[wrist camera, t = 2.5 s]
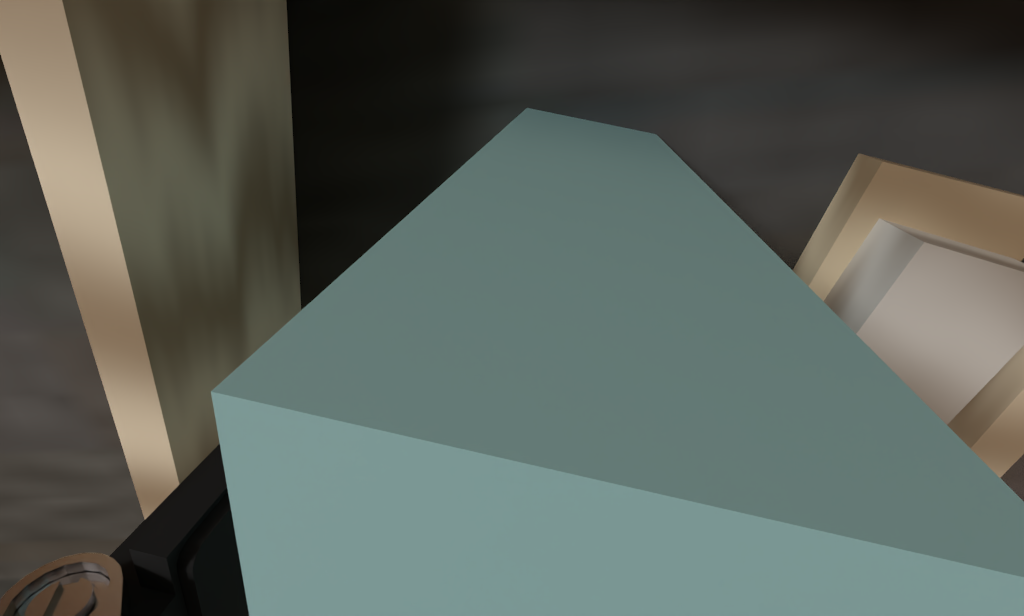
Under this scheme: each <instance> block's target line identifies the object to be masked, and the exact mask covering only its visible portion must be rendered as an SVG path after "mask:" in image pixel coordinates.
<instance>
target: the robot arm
mask: <svg viewBox="0 0 1024 616" xmlns="http://www.w3.org/2000/svg"><path fill="white" fill-rule="evenodd" d="M0 616H249V611H248V606H247V600H246V594H245V588H244V582H243V576H242V571H241V565H240V559H239V553H238V547H237V541H236V536H235V530H234V524H233V518H232V512H231V506H230V501H229V495H228V489H227V483H226V477H225V471H224V466H223V460H222V454H221V448H220V444H219V445H218V446H217V447H216V448H215V449H214V450H213V451H212V452H211V453H210V454H209V455H208V456H207V457H206V458H205V459H204V460H203V461H202V462H201V463H200V464H199V465H198V466H197V467H196V468H195V469H194V470H193V471H192V472H191V473H190V474H189V475H188V476H187V477H186V478H185V479H184V480H183V481H182V482H181V484H180V485H179V486H178V487H177V488H176V489H175V490H174V491H173V492H172V493H171V494H170V495H169V496H168V497H167V498H166V499H165V500H164V501H163V502H162V503H161V504H160V505H159V506H158V507H157V508H156V509H155V510H154V511H153V512H152V513H151V514H150V515H149V516H148V517H147V518H146V519H145V520H144V521H143V522H142V523H141V524H140V525H139V527H138V528H137V529H136V530H135V531H134V532H133V533H132V534H131V535H130V536H129V537H128V538H127V539H126V540H125V541H124V542H123V543H122V544H121V545H120V546H119V547H118V548H117V549H116V550H115V551H114V552H113V553H112V554H111V555H110V556H107V555H104V554H101V553H81V554H76V555H72V556H67V557H64V558H61V559H58V560H56V561H53V562H51V563H48V564H46V565H44V566H42V567H40V568H39V569H37V570H35V571H34V572H32V573H30V574H29V575H27V576H25V577H24V578H23V579H22V580H20V581H19V582H18V583H17V584H15V585H14V586H13V587H12V588H11V589H9V590H8V591H7V592H6V593H5V595H4V596H3V597H2V598H1V599H0Z"/></svg>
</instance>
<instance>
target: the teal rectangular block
mask: <svg viewBox="0 0 1024 616" xmlns="http://www.w3.org/2000/svg"><path fill="white" fill-rule="evenodd" d="M211 396H212V401H213V407H214V413H215V419H216V425H217V431H218V436H219V442H220V448H221V454H222V460H223V466H224V471H225V477H226V483H227V489H228V495H229V501H230V506H231V512H232V518H233V524H234V530H235V536H236V541H237V547H238V553H239V559H240V565H241V571H242V576H243V582H244V588H245V594H246V600H247V606H248V611H249V616H1024V502H1023V501H1022V500H1021V499H1020V498H1019V497H1018V496H1017V495H1016V494H1015V493H1014V492H1013V491H1012V490H1011V489H1010V488H1009V487H1008V486H1007V485H1006V484H1005V483H1004V482H1003V481H1002V480H1001V479H1000V478H999V477H998V476H997V475H996V474H995V473H994V472H993V471H992V470H991V469H990V468H989V467H988V466H987V465H986V464H985V463H984V462H983V461H982V460H981V459H980V458H979V457H978V456H977V455H976V454H975V453H974V452H973V451H972V450H971V449H970V448H969V447H968V446H967V445H966V444H965V443H964V442H963V441H962V440H961V439H960V438H959V437H958V436H957V435H956V434H955V433H954V432H953V431H952V430H951V429H950V428H949V427H948V426H947V425H946V424H945V423H944V422H943V421H942V420H941V419H940V418H939V417H938V416H937V415H936V414H935V413H934V412H933V411H932V410H931V409H930V408H929V407H928V406H927V405H926V404H925V403H924V402H923V401H922V400H921V399H920V398H919V397H918V396H917V395H916V394H915V393H914V392H913V391H912V390H911V389H910V388H909V387H908V386H907V385H906V384H905V383H904V382H903V381H902V380H901V379H900V378H899V377H898V376H897V375H896V374H895V373H894V372H893V371H892V370H891V369H890V368H889V367H888V366H887V365H886V364H885V363H884V362H883V361H882V360H881V359H880V358H879V357H878V356H877V355H876V354H875V353H874V352H873V351H872V350H871V349H870V348H869V347H868V346H867V345H866V344H865V343H864V342H863V341H862V340H861V339H860V338H859V337H858V336H857V335H856V334H855V333H854V332H853V331H852V330H851V329H850V328H849V327H848V326H847V325H846V324H845V323H844V322H843V321H842V320H841V319H840V318H839V317H838V316H837V315H836V314H835V313H834V312H833V311H832V310H831V309H830V308H829V307H828V306H827V305H826V304H825V303H824V302H823V301H822V300H821V299H820V298H819V297H818V296H817V295H816V294H815V293H814V292H813V291H812V290H811V289H810V288H809V287H808V286H807V285H806V284H805V283H804V282H803V281H802V280H801V279H800V278H799V277H798V276H797V275H796V274H795V273H794V272H793V271H792V270H791V269H790V268H789V267H788V266H787V265H786V264H785V263H784V262H783V261H782V260H781V259H780V258H779V257H778V256H777V255H776V254H775V253H774V252H773V251H772V250H771V249H770V248H769V247H768V246H767V245H766V244H765V243H764V242H763V241H762V240H761V239H760V238H759V237H758V236H757V235H756V234H755V233H754V232H753V231H752V230H751V229H750V228H749V227H748V226H747V225H746V224H745V223H744V222H743V221H742V220H741V219H740V218H739V217H738V216H737V215H736V214H735V213H734V212H733V211H732V210H731V209H730V208H729V207H728V206H727V205H726V204H725V203H724V202H723V201H722V200H721V199H720V198H719V197H718V196H717V195H716V194H715V193H714V192H713V191H712V190H711V189H710V188H709V187H708V186H707V185H706V184H705V183H704V182H703V181H702V180H701V179H700V178H699V177H698V176H697V175H696V174H695V173H694V172H693V171H692V170H691V169H690V168H689V167H688V166H687V165H686V164H685V163H684V162H683V161H682V160H681V159H680V158H679V157H678V156H677V155H676V154H675V153H674V152H673V151H672V150H671V149H670V148H669V147H668V146H667V145H666V144H665V143H664V142H663V141H662V140H661V139H660V138H659V137H658V136H657V135H656V134H652V133H647V132H642V131H637V130H632V129H628V128H623V127H618V126H613V125H608V124H603V123H598V122H593V121H588V120H584V119H579V118H574V117H569V116H564V115H559V114H554V113H549V112H545V111H540V110H535V109H530V108H526V109H525V110H524V111H523V112H522V113H521V114H520V115H518V116H517V117H516V118H515V119H514V120H513V121H512V122H511V123H510V124H508V125H507V126H506V127H505V128H504V129H503V130H502V131H501V132H500V133H498V134H497V135H496V136H495V137H494V138H493V139H492V140H491V141H489V142H488V143H487V144H486V145H485V146H484V147H483V148H482V149H481V150H479V151H478V152H477V153H476V154H475V155H474V156H473V157H472V158H471V159H469V160H468V161H467V162H466V163H465V164H464V165H463V166H462V167H461V168H459V169H458V170H457V171H456V172H455V173H454V174H453V175H452V176H450V177H449V178H448V179H447V180H446V181H445V182H444V183H443V184H442V185H440V186H439V187H438V188H437V189H436V190H435V191H434V192H433V193H432V194H430V195H429V196H428V197H427V198H426V199H425V200H424V201H423V202H421V203H420V204H419V205H418V206H417V207H416V208H415V209H414V210H413V211H411V212H410V213H409V214H408V215H407V216H406V217H405V218H404V219H403V220H401V221H400V222H399V223H398V224H397V225H396V226H395V227H394V228H393V229H391V230H390V231H389V232H388V233H387V234H386V235H385V236H384V237H382V238H381V239H380V240H379V241H378V242H377V243H376V244H375V245H374V246H372V247H371V248H370V249H369V250H368V251H367V252H366V253H365V254H364V255H362V256H361V257H360V258H359V259H358V260H357V261H356V262H355V263H354V264H352V265H351V266H350V267H349V268H348V269H347V270H346V271H345V272H343V273H342V274H341V275H340V276H339V277H338V278H337V279H336V280H335V281H333V282H332V283H331V284H330V285H329V286H328V287H327V288H326V289H325V290H323V291H322V292H321V293H320V294H319V295H318V296H317V297H316V298H315V299H313V300H312V301H311V302H310V303H309V304H308V305H307V306H306V307H304V308H303V309H302V310H301V311H300V312H299V313H298V314H297V315H296V316H294V317H293V318H292V319H291V320H290V321H289V322H288V323H287V324H286V325H284V326H283V327H282V328H281V329H280V330H279V331H278V332H277V333H275V334H274V335H273V336H272V337H271V338H270V339H269V340H268V341H267V342H265V343H264V344H263V345H262V346H261V347H260V348H259V349H258V350H257V351H255V352H254V353H253V354H252V355H251V356H250V357H249V358H248V359H247V360H245V361H244V362H243V363H242V364H241V365H240V366H239V367H238V368H236V369H235V370H234V371H233V372H232V373H231V374H230V375H229V376H228V377H226V378H225V379H224V380H223V381H222V382H221V383H220V384H219V385H218V386H216V387H215V388H214V389H213V390H212V391H211Z"/></svg>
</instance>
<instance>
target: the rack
mask: <svg viewBox="0 0 1024 616" xmlns="http://www.w3.org/2000/svg"><path fill="white" fill-rule="evenodd" d="M0 54H1V57H2V60H3V63H4V67H5V70H6V73H7V76H8V80H9V83H10V86H11V89H12V92H13V96H14V99H15V102H16V105H17V109H18V112H19V115H20V118H21V122H22V125H23V128H24V131H25V134H26V138H27V141H28V144H29V147H30V151H31V154H32V157H33V160H34V163H35V167H36V170H37V173H38V176H39V180H40V183H41V186H42V189H43V193H44V196H45V199H46V202H47V205H48V209H49V212H50V215H51V218H52V222H53V225H54V228H55V231H56V234H57V238H58V241H59V244H60V247H61V251H62V254H63V257H64V260H65V264H66V267H67V270H68V273H69V276H70V280H71V283H72V286H73V289H74V293H75V296H76V299H77V302H78V305H79V309H80V312H81V315H82V318H83V322H84V325H85V328H86V331H87V335H88V338H89V341H90V344H91V347H92V351H93V354H94V357H95V360H96V364H97V367H98V370H99V373H100V376H101V380H102V383H103V386H104V389H105V393H106V396H107V399H108V402H109V406H110V409H111V412H112V415H113V418H114V422H115V425H116V428H117V431H118V435H119V438H120V441H121V444H122V447H123V451H124V454H125V457H126V460H127V464H128V467H129V470H130V473H131V477H132V480H133V483H134V486H135V489H136V493H137V496H138V499H139V502H140V506H141V509H142V512H143V515H144V518H145V519H146V518H147V517H148V516H149V515H150V514H151V513H152V512H153V511H154V510H155V509H156V508H157V507H158V506H159V505H160V504H161V503H162V502H163V501H164V500H165V499H166V498H167V497H168V496H169V495H170V494H171V493H172V492H173V491H174V490H175V489H176V488H177V487H178V486H179V485H180V484H181V482H182V481H183V480H184V479H185V478H186V477H187V476H188V475H189V474H190V473H191V472H192V471H193V470H194V469H195V468H196V467H197V466H198V465H199V464H200V463H201V462H202V461H203V460H204V459H205V458H206V457H207V456H208V455H209V454H210V453H211V452H212V451H213V450H214V449H215V448H216V447H217V446H218V445H219V444H220V442H219V436H218V431H217V425H216V419H215V413H214V407H213V401H212V396H211V391H212V390H213V389H214V388H215V387H216V386H218V385H219V384H220V383H221V382H222V381H223V380H224V379H225V378H226V377H228V376H229V375H230V374H231V373H232V372H233V371H234V370H235V369H236V368H238V367H239V366H240V365H241V364H242V363H243V362H244V361H245V360H247V359H248V358H249V357H250V356H251V355H252V354H253V353H254V352H255V351H257V350H258V349H259V348H260V347H261V346H262V345H263V344H264V343H265V342H267V341H268V340H269V339H270V338H271V337H272V336H273V335H274V334H275V333H277V332H278V331H279V330H280V329H281V328H282V327H283V326H284V325H286V324H287V323H288V322H289V321H290V320H291V319H292V318H293V317H294V316H296V315H297V314H298V313H299V312H300V311H301V294H300V273H299V252H298V232H297V211H296V190H295V169H294V148H293V127H292V106H291V86H290V65H289V44H288V23H287V2H286V0H0ZM947 426H948V427H949V428H950V429H951V430H952V431H953V432H954V433H955V434H956V435H957V436H958V437H959V438H960V439H961V440H962V441H963V442H964V443H965V444H966V445H967V446H968V447H969V448H970V449H971V450H972V451H973V452H974V453H975V454H976V455H977V456H978V457H979V458H980V459H981V460H982V461H983V462H984V463H985V464H986V465H987V466H988V467H989V468H990V469H991V470H992V471H993V472H994V473H995V474H996V475H997V476H998V477H999V478H1000V477H1001V476H1002V475H1003V474H1004V473H1005V472H1006V471H1007V470H1008V469H1009V468H1010V467H1011V466H1012V465H1013V464H1014V463H1015V462H1016V461H1017V460H1018V459H1019V458H1020V457H1021V456H1022V455H1023V454H1024V346H1023V347H1022V348H1021V349H1020V350H1019V351H1018V352H1017V353H1016V354H1015V355H1014V356H1013V357H1012V358H1011V359H1010V360H1009V361H1008V362H1007V363H1006V364H1005V365H1004V366H1003V367H1002V368H1001V369H1000V371H999V372H998V373H997V374H996V375H995V376H994V377H993V378H992V379H991V380H990V381H989V382H988V383H987V384H986V385H985V386H984V387H983V388H982V389H981V390H980V391H979V392H978V393H977V394H976V395H975V396H974V398H973V399H972V400H971V401H970V402H969V403H968V404H967V405H966V406H965V407H964V408H963V409H962V410H961V411H960V412H959V413H958V414H957V415H956V416H955V417H954V418H953V419H952V420H951V421H950V422H949V423H948V425H947Z"/></svg>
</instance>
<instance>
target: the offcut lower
mask: <svg viewBox="0 0 1024 616" xmlns="http://www.w3.org/2000/svg"><path fill="white" fill-rule="evenodd" d="M879 218H880V219H883V220H887V221H890V222H893V223H897V224H900V225H903V226H907V227H910V228H913V229H917V230H920V231H923V232H927V233H930V234H933V235H937V236H940V237H943V238H947V239H950V240H953V241H957V242H960V243H963V244H967V245H970V246H973V247H977V248H980V249H983V250H987V251H990V252H994V253H997V254H1000V255H1004V256H1007V257H1010V258H1013V259H1016V260H1018V261H1020V262H1021V261H1022V259H1023V258H1024V195H1020V194H1016V193H1012V192H1008V191H1004V190H1000V189H996V188H992V187H988V186H984V185H981V184H977V183H973V182H969V181H965V180H961V179H957V178H953V177H949V176H945V175H941V174H937V173H934V172H930V171H926V170H922V169H918V168H914V167H910V166H906V165H902V164H898V163H894V162H890V161H886V160H883V159H879V158H875V157H871V156H867V155H863V154H858V156H857V157H856V159H855V161H854V163H853V164H852V166H851V168H850V170H849V172H848V173H847V175H846V177H845V179H844V180H843V182H842V184H841V186H840V187H839V189H838V191H837V193H836V195H835V196H834V198H833V200H832V202H831V203H830V205H829V207H828V209H827V210H826V212H825V214H824V216H823V218H822V219H821V221H820V223H819V225H818V226H817V228H816V230H815V232H814V233H813V235H812V237H811V239H810V241H809V242H808V244H807V246H806V248H805V249H804V251H803V253H802V255H801V256H800V258H799V260H798V262H797V264H796V265H795V267H794V269H793V272H794V273H795V274H796V275H797V276H798V277H799V278H800V279H801V280H802V281H803V282H804V283H805V284H806V285H807V286H808V287H809V288H810V289H811V290H812V291H813V292H814V293H815V294H816V295H817V296H818V297H819V298H820V299H821V300H822V301H824V300H825V298H826V297H827V295H828V294H829V292H830V291H831V289H832V288H833V286H834V285H835V283H836V282H837V280H838V279H839V277H840V276H841V274H842V273H843V272H844V270H845V269H846V267H847V266H848V264H849V263H850V261H851V260H852V258H853V257H854V255H855V254H856V252H857V251H858V249H859V248H860V246H861V245H862V243H863V242H864V240H865V239H866V237H867V236H868V234H869V233H870V231H871V230H872V228H873V227H874V225H875V224H876V222H877V221H878V219H879Z"/></svg>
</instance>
